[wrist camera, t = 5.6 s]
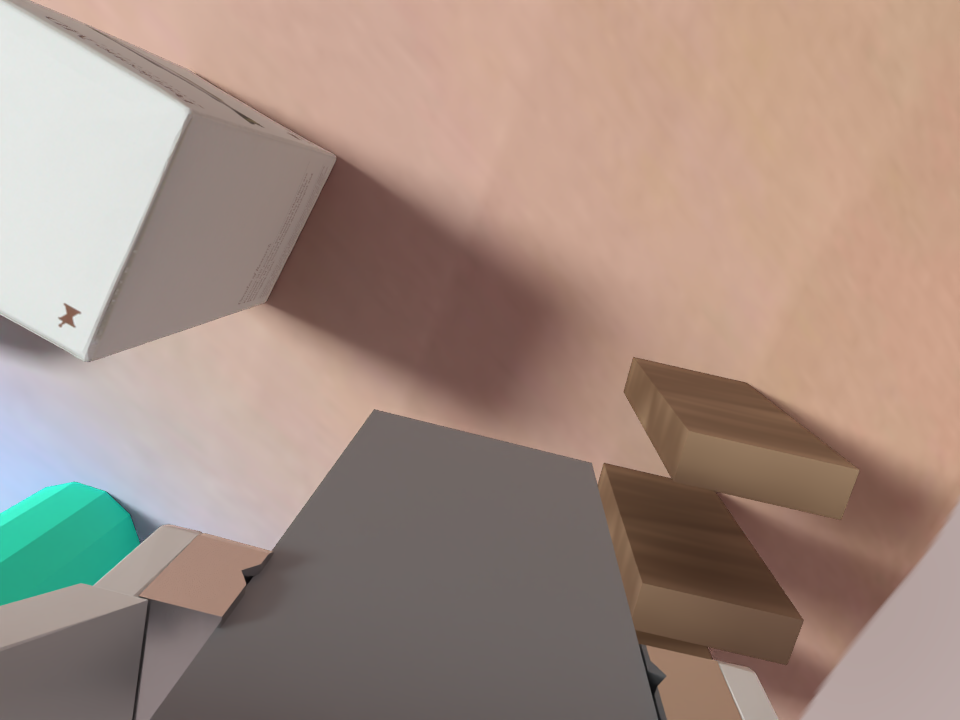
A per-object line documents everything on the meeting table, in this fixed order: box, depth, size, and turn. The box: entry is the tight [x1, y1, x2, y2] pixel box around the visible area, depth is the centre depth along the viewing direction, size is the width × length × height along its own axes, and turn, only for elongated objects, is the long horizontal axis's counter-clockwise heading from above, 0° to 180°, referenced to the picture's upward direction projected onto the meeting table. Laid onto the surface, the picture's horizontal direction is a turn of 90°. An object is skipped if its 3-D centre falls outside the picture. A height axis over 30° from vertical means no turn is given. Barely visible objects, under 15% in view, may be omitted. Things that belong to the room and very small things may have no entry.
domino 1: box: [624, 357, 860, 520], centre depth 24 cm, size 2×5×10 cm, turn 78°
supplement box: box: [0, 0, 336, 362], centre depth 22 cm, size 7×7×13 cm
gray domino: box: [150, 409, 658, 720], centre depth 10 cm, size 2×5×10 cm, turn 76°
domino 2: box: [598, 463, 804, 665], centre depth 25 cm, size 2×5×10 cm, turn 77°
